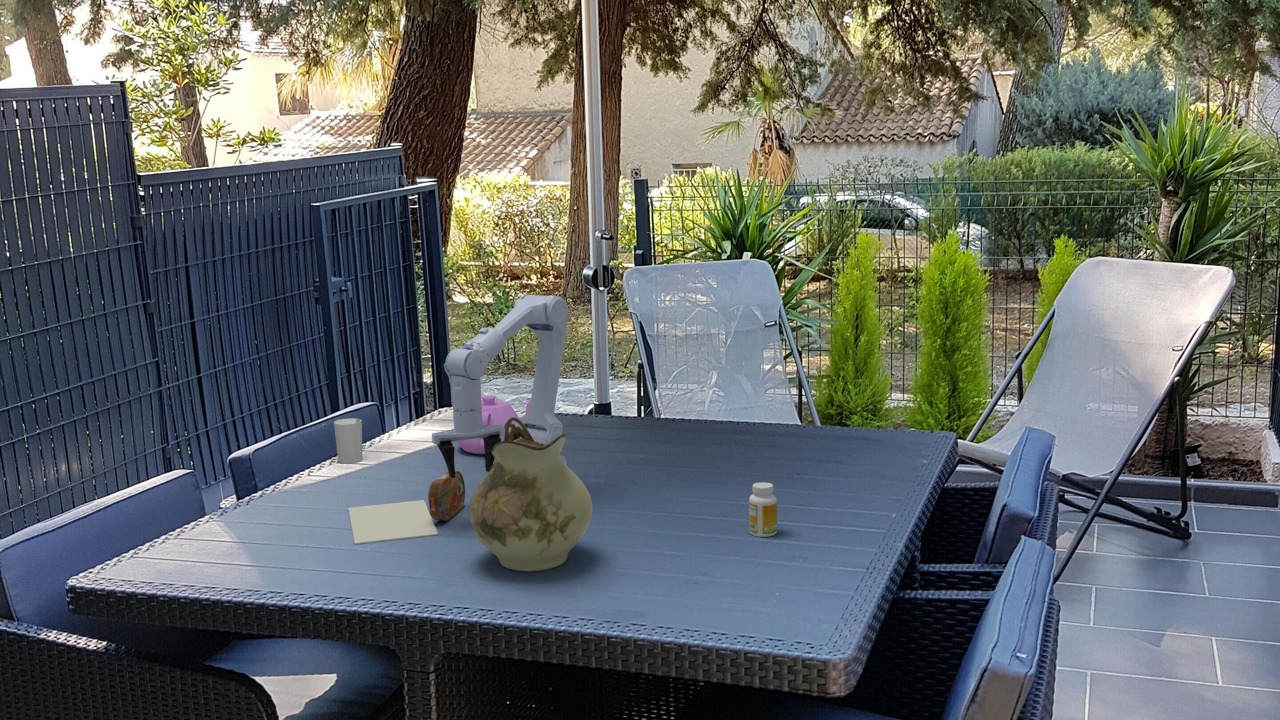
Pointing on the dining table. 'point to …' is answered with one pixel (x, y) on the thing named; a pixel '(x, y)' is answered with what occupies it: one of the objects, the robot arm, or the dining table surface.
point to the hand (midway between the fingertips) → (470, 474)
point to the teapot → (491, 421)
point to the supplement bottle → (762, 510)
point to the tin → (446, 496)
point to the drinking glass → (348, 440)
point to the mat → (391, 522)
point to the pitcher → (529, 503)
